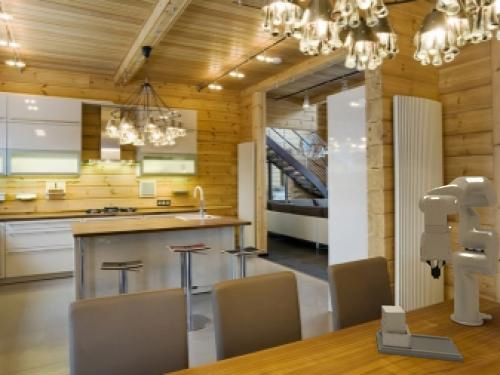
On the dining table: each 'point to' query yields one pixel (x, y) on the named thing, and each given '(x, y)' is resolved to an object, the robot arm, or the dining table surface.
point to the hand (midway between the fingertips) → (435, 278)
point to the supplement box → (393, 320)
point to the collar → (397, 339)
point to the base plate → (424, 348)
